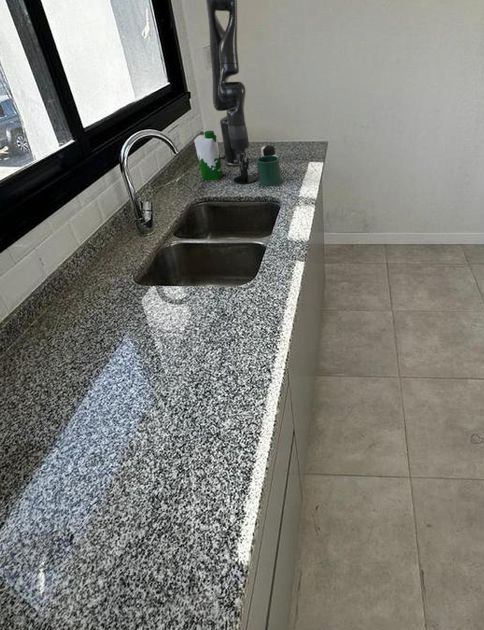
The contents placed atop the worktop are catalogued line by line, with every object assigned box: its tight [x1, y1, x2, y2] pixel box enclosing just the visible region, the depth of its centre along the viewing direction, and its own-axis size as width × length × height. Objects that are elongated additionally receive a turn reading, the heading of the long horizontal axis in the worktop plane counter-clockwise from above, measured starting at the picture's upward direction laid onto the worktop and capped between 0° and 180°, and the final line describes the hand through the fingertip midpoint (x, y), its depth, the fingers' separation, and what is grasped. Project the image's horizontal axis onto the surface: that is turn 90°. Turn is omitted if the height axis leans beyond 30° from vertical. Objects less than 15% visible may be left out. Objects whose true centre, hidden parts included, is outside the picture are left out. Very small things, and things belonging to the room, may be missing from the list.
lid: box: [233, 169, 258, 185], centre depth 190 cm, size 10×10×6 cm
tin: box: [256, 155, 282, 187], centre depth 186 cm, size 9×9×10 cm
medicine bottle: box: [260, 145, 279, 158], centre depth 196 cm, size 7×7×12 cm
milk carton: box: [193, 130, 224, 181], centre depth 191 cm, size 9×9×20 cm
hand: (244, 176), depth 191 cm, fingers closed
